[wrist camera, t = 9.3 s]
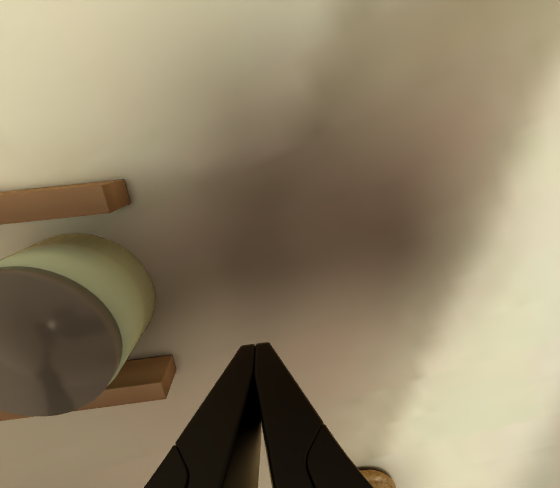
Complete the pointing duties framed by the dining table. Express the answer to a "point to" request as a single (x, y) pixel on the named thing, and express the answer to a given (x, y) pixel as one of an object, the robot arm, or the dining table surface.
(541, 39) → the dining table surface
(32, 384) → the green jar
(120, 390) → the lane
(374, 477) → the sprinkles bottle
